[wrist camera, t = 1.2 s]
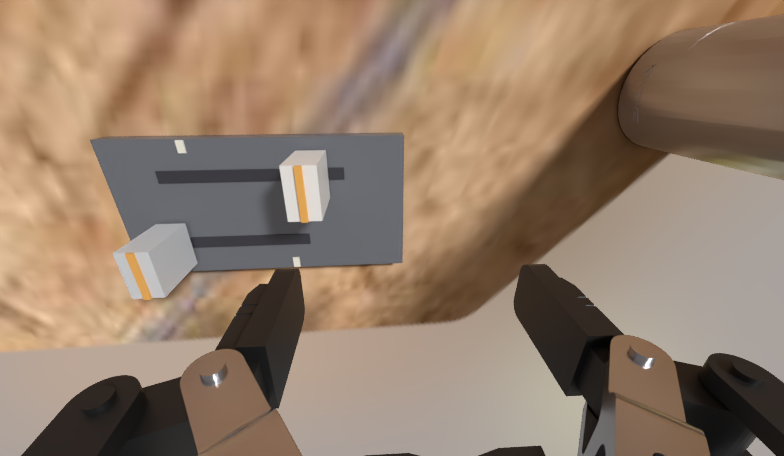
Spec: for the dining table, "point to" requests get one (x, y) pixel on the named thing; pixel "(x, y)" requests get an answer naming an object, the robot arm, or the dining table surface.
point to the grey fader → (156, 260)
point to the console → (260, 196)
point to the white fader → (305, 185)
